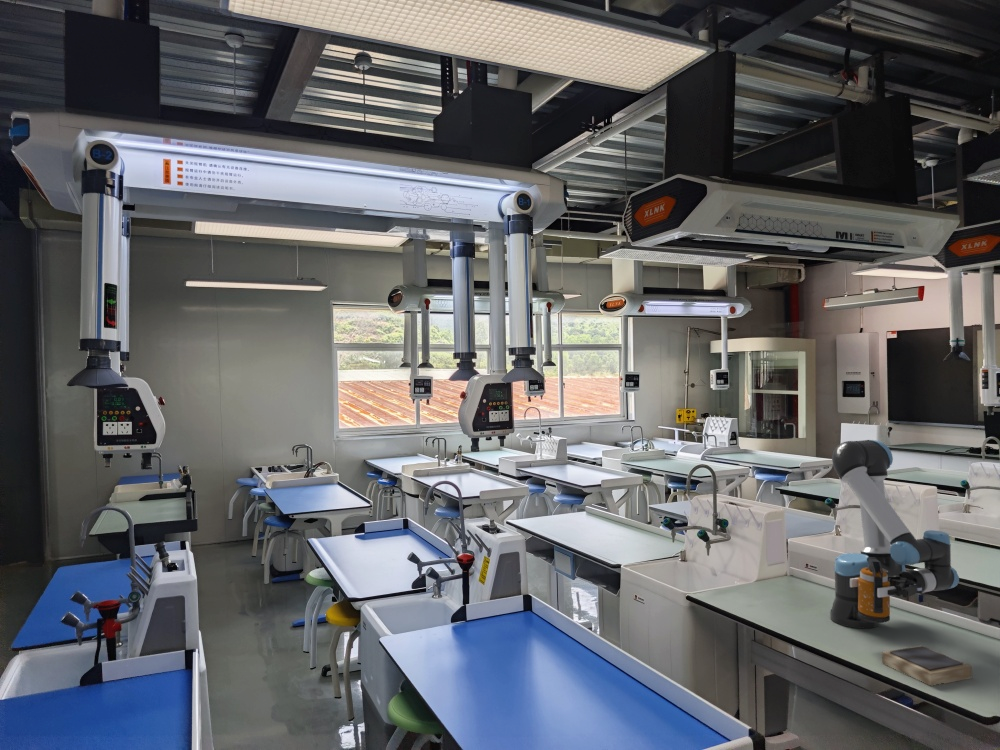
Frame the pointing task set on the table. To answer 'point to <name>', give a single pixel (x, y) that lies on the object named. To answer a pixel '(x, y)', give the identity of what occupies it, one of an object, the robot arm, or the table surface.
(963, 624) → the table surface
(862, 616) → the canister
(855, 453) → the robot arm
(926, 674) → the plinth
